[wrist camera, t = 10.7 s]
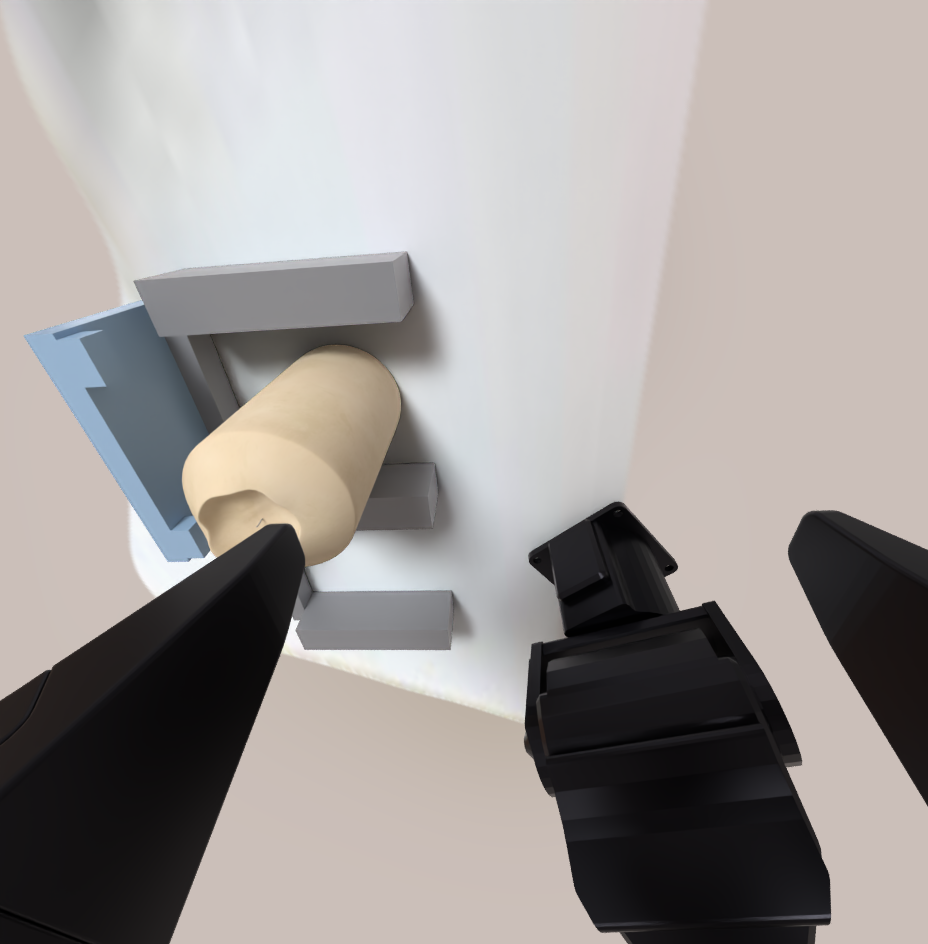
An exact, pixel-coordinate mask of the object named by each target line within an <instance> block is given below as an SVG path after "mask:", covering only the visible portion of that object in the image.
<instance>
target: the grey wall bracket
mask: <svg viewBox="0 0 928 944" xmlns="http://www.w3.org/2000/svg"><path fill="white" fill-rule="evenodd" d="M134 284H135V286H136V288H137V290H138V292H139V294H140V297H141V299H142V300H140V301H137V302H134V303H130V304H127V305H124V306H120V307H117V308H114V309H110V310H107V311H104V312H100V313H97V314H94V315H90V316H87V317H84V318H80V319H77V320H74V321H70V322H67V323H64V324H60V325H57V326H54V327H50V328H47V329H44V330H40V331H37V332H34V333H30V334H27V335H24V337H25V339H26V340H27V342H28V344H29V345H30V347H31V348H32V350H33V351H34V353H35V355H36V356H37V358H38V359H39V361H40V362H41V364H42V365H43V367H44V369H45V370H46V372H47V373H48V375H49V376H50V378H51V380H52V381H53V383H54V384H55V386H56V387H57V389H58V391H59V392H60V394H61V395H62V397H63V398H64V400H65V401H66V403H67V405H68V406H69V408H70V409H71V411H72V412H73V414H74V416H75V417H76V419H77V420H78V422H79V423H80V425H81V427H82V428H83V430H84V431H85V433H86V434H87V436H88V438H89V439H90V441H91V442H92V444H93V445H94V447H95V448H96V450H97V452H98V453H99V455H100V456H101V458H102V459H103V461H104V463H105V464H106V466H107V467H108V469H109V470H110V472H111V473H112V475H113V477H114V478H115V480H116V481H117V483H118V484H119V486H120V488H121V489H122V491H123V492H124V494H125V495H126V497H127V499H128V500H129V502H130V503H131V505H132V506H133V508H134V510H135V511H136V513H137V514H138V516H139V517H140V519H141V521H142V522H143V524H144V525H145V527H146V528H147V530H148V531H149V533H150V535H151V536H152V538H153V539H154V541H155V542H156V544H157V546H158V547H159V549H160V550H161V552H162V553H163V555H164V557H165V558H166V560H167V561H168V562H189V561H190V560H191V558H204V557H205V556H206V555H207V554H208V552H209V551H210V548H209V545H208V541H207V539H206V537H205V535H204V533H203V532H202V530H201V528H200V527H199V525H198V523H197V521H196V520H195V518H194V516H193V514H192V512H191V510H190V508H189V505H188V503H187V501H186V498H185V494H184V491H183V484H182V473H183V468H184V464H185V461H186V459H187V457H188V455H189V454H190V453H191V451H192V450H193V449H194V448H195V447H196V446H197V445H198V444H199V443H200V442H201V441H203V440H204V439H205V438H206V437H207V436H208V435H210V434H211V433H212V432H213V431H214V430H216V429H217V428H218V427H219V426H220V425H221V424H223V423H224V422H225V421H226V420H227V419H228V418H230V417H231V416H232V415H233V414H234V413H235V412H237V411H238V410H239V409H240V408H239V406H238V403H237V401H236V398H235V396H234V393H233V391H232V388H231V386H230V383H229V381H228V378H227V376H226V373H225V371H224V368H223V366H222V363H221V361H220V358H219V356H218V353H217V351H216V348H215V346H214V343H213V341H212V338H211V336H210V334H216V333H232V332H247V331H263V330H279V329H295V328H310V327H326V326H342V325H358V324H374V323H389V322H402V320H403V319H404V318H405V316H406V315H407V313H408V312H409V310H410V309H411V307H412V306H413V305H414V302H413V294H412V286H411V279H410V271H409V263H408V256H407V252H395V253H382V254H369V255H356V256H343V257H330V258H317V259H304V260H291V261H278V262H265V263H252V264H239V265H227V266H214V267H201V268H188V269H181V270H177V271H173V272H168V273H164V274H160V275H156V276H152V277H147V278H143V279H139V280H135V281H134ZM438 494H439V492H438V485H437V477H436V470H435V463H413V464H385V465H382V466H381V468H380V471H379V473H378V476H377V478H376V481H375V483H374V486H373V488H372V491H371V493H370V496H369V498H368V501H367V503H366V506H365V508H364V511H363V513H362V516H361V518H360V521H359V523H358V526H357V528H356V530H401V529H433V523H434V517H435V511H436V505H437V499H438ZM453 616H454V607H453V599H452V592H451V591H372V592H312V589H311V587H310V584H309V582H308V579H307V577H306V574H305V572H304V573H303V577H302V581H301V584H300V588H299V592H298V596H297V599H296V603H295V607H294V611H293V614H292V617H293V619H294V620H300V621H299V624H298V626H297V628H296V632H297V634H298V637H299V639H300V641H301V643H302V645H303V647H304V649H305V650H451V639H452V627H453Z"/></svg>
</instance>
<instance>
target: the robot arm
mask: <svg viewBox="0 0 928 944" xmlns="http://www.w3.org/2000/svg"><path fill="white" fill-rule="evenodd" d="M616 510H620V511H619V512H615V511H616ZM528 556H529V563H530V564H531V565H532V566H533V567H534V568H535V569H536V570H538V571H539V572H540V573H541V574H542V575H543V576H545V577H546V578H547V579H548V580H549V581H550V582H551V583H553V584H554V585H555V588H556V594H557V598H558V600H559V606H560V612H561V617H562V623H563V629H564V634H565V636H566V638H563V639H559V640H555V641H551V642H547V643H543V642H538V643H534V644H532V646H531V659H529V670H528V685H527V699H526V713H525V730H526V733H525V737H524V745H525V749H526V752H527V753H528V754H529V755H530V756H531V757H532V758H533V759H534V761H535V765H536V768H537V771H538V774H539V777H540V780H541V782H542V784H543V786H544V788H545V790H546V792H547V793H548V794H549V795H550V796H551V797H556V801H557V804H558V808H559V812H560V816H561V820H562V824H563V829H564V834H565V839H566V844H567V849H568V855H569V861H570V866H571V872H572V877H573V883H574V887H575V891H576V893H577V895H578V897H579V899H580V901H581V902H582V904H583V906H584V908H585V909H586V911H587V913H588V915H589V917H590V918H591V920H592V922H593V924H594V925H595V927H596V928H597V929H598V930H599V931H600V932H602V933H607V932H608V933H609V932H620V933H621V934H622V936H623V938H624V939H625V940H626V942H627V943H628V944H815V934H816V926H817V925H818V926H819V925H829V924H830V921H831V898H830V878H829V873H828V870H827V868H826V866H825V864H824V862H823V860H822V856H821V848H820V845H819V842H818V839H817V837H816V835H815V832H814V830H813V828H812V826H811V823H810V821H809V819H808V816H807V814H806V812H805V809H804V807H803V805H802V803H801V800H800V798H799V796H798V794H797V791H796V789H795V787H794V784H793V782H792V780H791V778H790V775H789V773H788V771H787V768H786V767H792V766H800V765H802V758H801V754H800V751H799V748H798V745H797V742H796V739H795V737H794V734H793V732H792V729H791V727H790V725H789V722H788V720H787V718H786V715H785V714H784V711H783V709H782V707H781V705H780V703H779V701H778V699H777V697H776V695H775V693H774V691H773V689H772V687H771V686H770V684H769V682H768V680H767V679H766V677H765V675H764V673H763V672H762V670H761V668H760V667H759V665H758V664H757V662H756V661H755V659H754V658H753V656H752V655H751V653H750V652H749V650H748V649H747V648H746V646H745V644H744V643H743V642H742V640H741V639H740V637H739V636H738V634H737V633H736V631H735V630H734V628H733V627H732V625H731V624H730V622H729V621H728V620H727V618H726V617H725V615H724V614H723V612H722V611H721V609H720V608H719V606H718V605H717V603H716V602H715V601H712V602H707V603H703V604H702V606H699V607H695V608H691V609H687V610H682V611H680V610H679V608H678V606H677V604H676V601H675V599H674V597H673V595H672V593H671V591H670V589H669V586H668V584H667V582H666V580H665V577H666V576H668V575H670V574H672V573H674V572H675V571H676V570H677V569H678V565H677V563H676V561H675V559H674V558H673V557H672V556H671V555H670V554H669V553H668V552H667V551H666V549H665V548H664V547H663V546H662V545H661V544H660V543H659V542H658V541H657V540H656V538H655V537H654V536H653V535H652V534H651V533H650V532H649V531H648V530H647V528H645V526H644V525H643V524H642V523H641V522H640V521H639V520H638V519H637V517H636V516H635V515H634V514H633V513H632V512H631V511H630V510H629V509H628V508H627V506H626V505H625V504H624V503H622V502H614V503H611V504H610V505H608V506H606V507H605V508H603V509H601V510H600V511H598V512H596V513H595V514H593V515H591V516H590V517H588V518H586V519H585V520H583V521H581V522H580V523H578V524H576V525H574V526H573V527H571V528H569V529H568V530H566V531H564V532H563V533H561V534H559V535H558V536H556V537H554V538H553V539H551V540H549V541H548V542H546V543H544V544H543V545H541V546H539V547H538V548H536V549H534V550H533V551H531V552H530V553H529V555H528ZM788 556H789V560H790V563H791V565H792V567H793V569H794V571H795V573H796V575H797V577H798V580H799V581H800V584H801V586H802V588H803V590H804V592H805V594H806V596H807V598H808V600H809V602H810V605H811V607H812V609H813V611H814V613H815V615H816V617H817V619H818V621H819V623H820V625H821V628H822V630H823V632H824V634H825V636H826V637H827V640H828V641H829V644H830V645H831V647H832V649H833V650H834V652H835V654H836V656H837V657H838V659H839V661H840V662H841V664H842V666H843V667H844V669H845V671H846V672H847V674H848V676H849V677H850V679H851V681H852V682H853V684H854V686H855V687H856V689H857V690H858V692H859V694H860V695H861V697H862V699H863V700H864V702H865V704H866V705H867V707H868V709H869V710H870V712H871V714H872V715H873V717H874V718H875V720H876V722H877V723H878V725H879V727H880V728H881V730H882V732H883V733H884V735H885V736H886V738H887V740H888V742H889V743H890V745H891V747H892V748H893V750H894V751H895V753H896V755H897V756H898V758H899V759H900V761H901V763H902V765H903V766H904V768H905V769H906V771H907V773H908V774H909V776H910V778H911V779H912V781H913V783H914V784H915V786H916V788H917V789H918V791H919V793H920V794H921V796H922V797H923V799H924V801H925V802H926V804H927V806H928V550H927V549H924V548H922V547H920V546H917V545H915V544H913V543H911V542H908V541H906V540H904V539H902V538H899V537H897V536H895V535H892V534H890V533H888V532H886V531H883V530H881V529H879V528H876V527H874V526H872V525H869V524H867V523H865V522H863V521H860V520H858V519H856V518H853V517H851V516H849V515H847V514H844V513H842V512H839V511H833V510H831V511H830V510H828V511H811V512H808V513H806V514H805V515H804V516H803V518H802V519H801V521H800V524H799V526H798V528H797V530H796V532H795V534H794V536H793V538H792V540H791V543H790V544H789V548H788ZM535 558H538V559H535ZM668 565H669V566H668ZM304 569H305V554H304V552H303V549H302V546H301V544H300V541H299V539H298V536H297V533H296V531H295V529H294V527H293V526H292V525H291V524H288V523H275V524H268V525H266V526H264V527H263V528H261V529H260V530H258V531H257V532H255V533H254V534H252V535H251V536H249V537H248V538H246V539H245V540H243V541H242V542H240V543H239V544H237V545H236V546H234V547H232V548H231V549H229V550H228V551H226V552H225V553H223V554H222V555H220V556H219V557H217V558H216V559H214V560H213V561H211V562H210V563H208V564H207V565H205V566H204V567H202V568H201V569H199V570H198V571H196V572H195V573H193V574H192V575H190V576H189V577H187V578H186V579H184V580H183V581H181V582H180V583H178V584H176V585H175V586H173V587H172V588H170V589H169V590H167V591H166V592H164V593H163V594H161V595H160V596H158V597H157V598H155V599H154V600H152V601H151V602H149V603H148V604H146V605H145V606H143V607H142V608H140V609H139V610H137V611H136V612H134V613H133V614H131V615H130V616H128V617H127V618H125V619H123V620H122V621H120V622H119V623H117V624H116V625H115V626H113V627H111V628H110V629H108V630H107V631H106V632H104V633H102V634H101V635H99V636H98V637H96V638H95V639H93V640H92V641H90V642H89V643H87V644H86V645H84V646H83V647H81V648H80V649H78V650H77V651H75V652H74V653H72V654H71V655H69V656H68V657H66V658H65V659H63V660H61V661H60V662H58V663H57V664H55V665H54V666H53V667H52V670H46V671H45V672H43V673H42V674H40V675H39V676H37V677H36V678H34V679H33V680H31V681H30V682H28V683H27V684H25V685H24V686H22V687H21V688H19V689H18V690H16V691H15V692H13V693H12V694H10V695H8V696H7V697H5V698H4V699H2V700H1V701H0V944H169V943H170V941H171V938H172V936H173V933H174V930H175V928H176V925H177V923H178V920H179V917H180V914H181V912H182V910H183V907H184V904H185V901H186V899H187V897H188V894H189V891H190V889H191V886H192V884H193V881H194V878H195V876H196V873H197V870H198V868H199V865H200V862H201V860H202V857H203V855H204V852H205V850H206V847H207V844H208V842H209V839H210V837H211V834H212V831H213V829H214V826H215V824H216V821H217V818H218V816H219V813H220V810H221V808H222V805H223V803H224V800H225V797H226V795H227V792H228V790H229V787H230V784H231V782H232V779H233V777H234V774H235V772H236V769H237V766H238V764H239V761H240V758H241V756H242V753H243V751H244V748H245V745H246V742H247V740H248V738H249V735H250V732H251V730H252V727H253V725H254V722H255V719H256V717H257V714H258V711H259V709H260V706H261V704H262V701H263V699H264V696H265V693H266V691H267V688H268V685H269V683H270V680H271V677H272V675H273V673H274V670H275V667H276V665H277V662H278V659H279V657H280V654H281V651H282V649H283V646H284V643H285V640H286V636H287V633H288V630H289V626H290V622H291V618H292V614H293V611H294V607H295V603H296V599H297V596H298V592H299V588H300V584H301V581H302V577H303V573H304Z"/></svg>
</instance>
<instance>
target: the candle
mask: <svg viewBox="0 0 928 944" xmlns="http://www.w3.org/2000/svg"><path fill="white" fill-rule="evenodd" d="M400 414H401V398H400V393H399V390H398V387H397V384H396V382H395V380H394V378H393V377H392V375H391V374H390V372H389V371H388V370H387V368H386V367H385V366H384V365H383V364H382V363H381V362H380V361H379V360H377V359H376V358H375V357H373V356H372V355H370V354H368V353H367V352H365V351H363V350H360V349H358V348H355V347H352V346H347V345H336V344H334V345H326V346H322V347H318V348H316V349H313V350H311V351H309V352H307V353H306V354H304V355H303V356H302V357H300V358H299V359H298V360H296V361H295V362H294V363H293V364H292V365H291V366H289V367H288V368H287V369H286V370H285V371H284V372H282V373H281V374H280V375H279V376H278V377H277V378H275V379H274V380H273V381H272V382H271V383H269V384H268V385H267V386H266V387H265V388H264V389H262V390H261V391H260V392H259V393H258V394H257V395H255V396H254V397H253V398H252V399H251V400H250V401H248V402H247V403H246V404H245V405H244V406H242V407H241V408H240V409H239V410H238V411H237V412H235V413H234V414H233V415H232V416H231V417H230V418H228V419H227V420H226V421H225V422H224V423H223V424H221V425H220V426H219V427H218V428H217V429H216V430H214V431H213V432H212V433H211V434H210V435H208V436H207V437H206V438H205V439H204V440H203V441H201V442H200V443H199V444H198V445H197V446H196V447H195V448H194V449H193V450H192V451H191V453H190V454H189V455H188V457H187V459H186V461H185V464H184V468H183V473H182V484H183V491H184V494H185V498H186V501H187V503H188V505H189V508H190V510H191V512H192V514H193V516H194V518H195V520H196V521H197V523H198V525H199V527H200V528H201V530H202V532H203V533H204V535H205V537H206V539H207V541H208V545H209V548H210V550H211V552H212V553H213V554H214V556H216V557H219V556H220V555H222V554H223V553H225V552H226V551H228V550H229V549H231V548H232V547H234V546H236V545H237V544H239V543H240V542H242V541H243V540H245V539H246V538H248V537H249V536H251V535H252V534H254V533H255V532H257V531H258V530H260V529H261V528H263V527H264V526H266V525H268V524H275V523H288V524H291V525H292V526H293V527H294V529H295V531H296V533H297V536H298V539H299V541H300V544H301V546H302V549H303V552H304V554H305V567H307V566H313V565H317V564H321V563H323V562H326V561H328V560H330V559H332V558H334V557H336V556H337V555H338V554H340V553H341V552H342V551H343V550H344V549H345V548H346V547H347V546H348V545H349V543H350V541H351V540H352V538H353V536H354V533H355V531H356V528H357V526H358V523H359V521H360V518H361V516H362V513H363V511H364V508H365V506H366V503H367V501H368V498H369V496H370V493H371V491H372V488H373V486H374V483H375V481H376V478H377V476H378V473H379V471H380V468H381V466H382V463H383V461H384V458H385V456H386V453H387V451H388V448H389V446H390V443H391V441H392V438H393V436H394V433H395V431H396V428H397V425H398V422H399V419H400Z"/></svg>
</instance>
